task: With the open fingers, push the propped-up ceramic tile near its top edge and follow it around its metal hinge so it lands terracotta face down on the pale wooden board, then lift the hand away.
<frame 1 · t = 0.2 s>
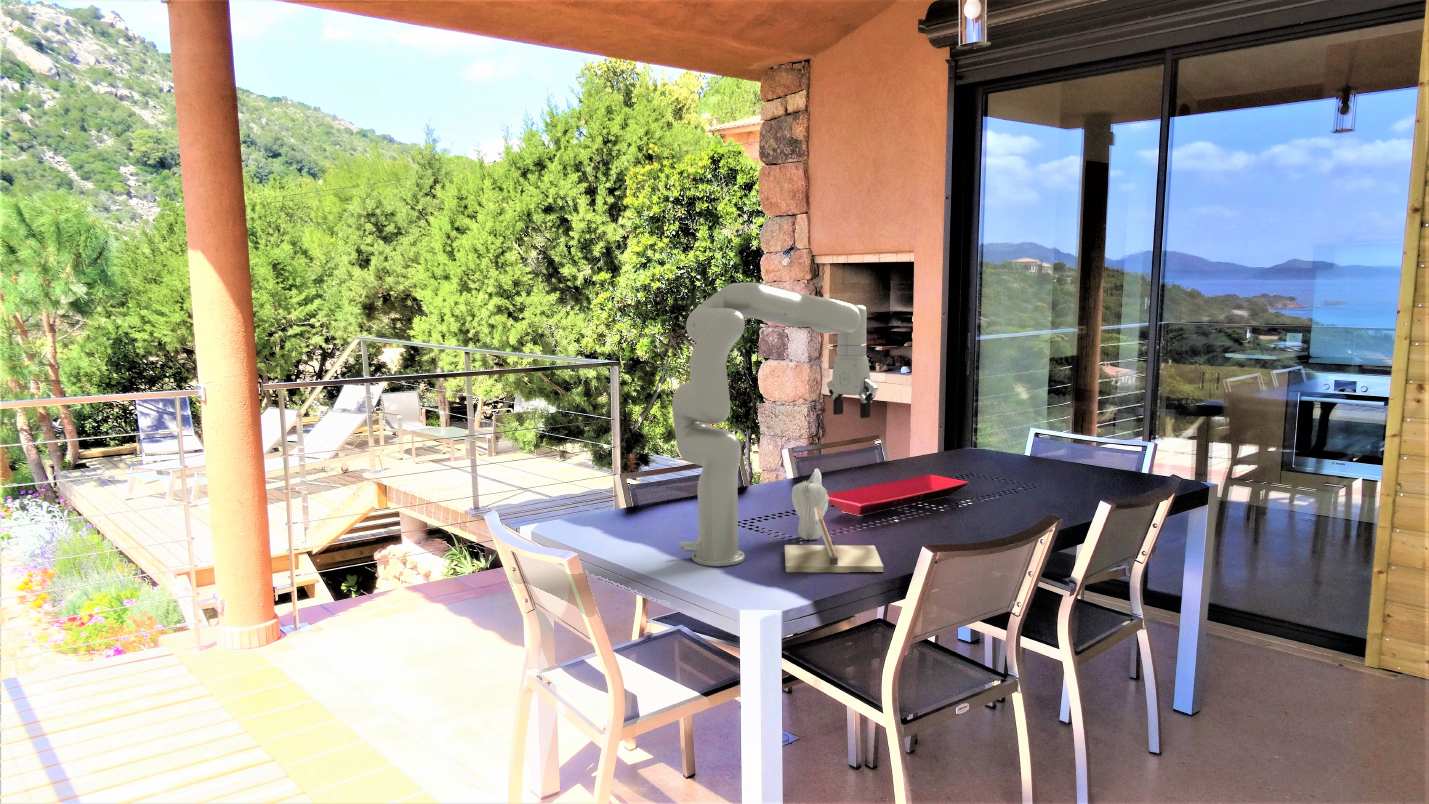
hand: (851, 415, 230), 31 cm above the table, tool pointing down, fingers open, 9 cm apart
board: (831, 561, 204), on the table
tile: (825, 533, 204), point 7 cm above the table, hinge at 70.0°
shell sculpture: (811, 539, 225), on the table
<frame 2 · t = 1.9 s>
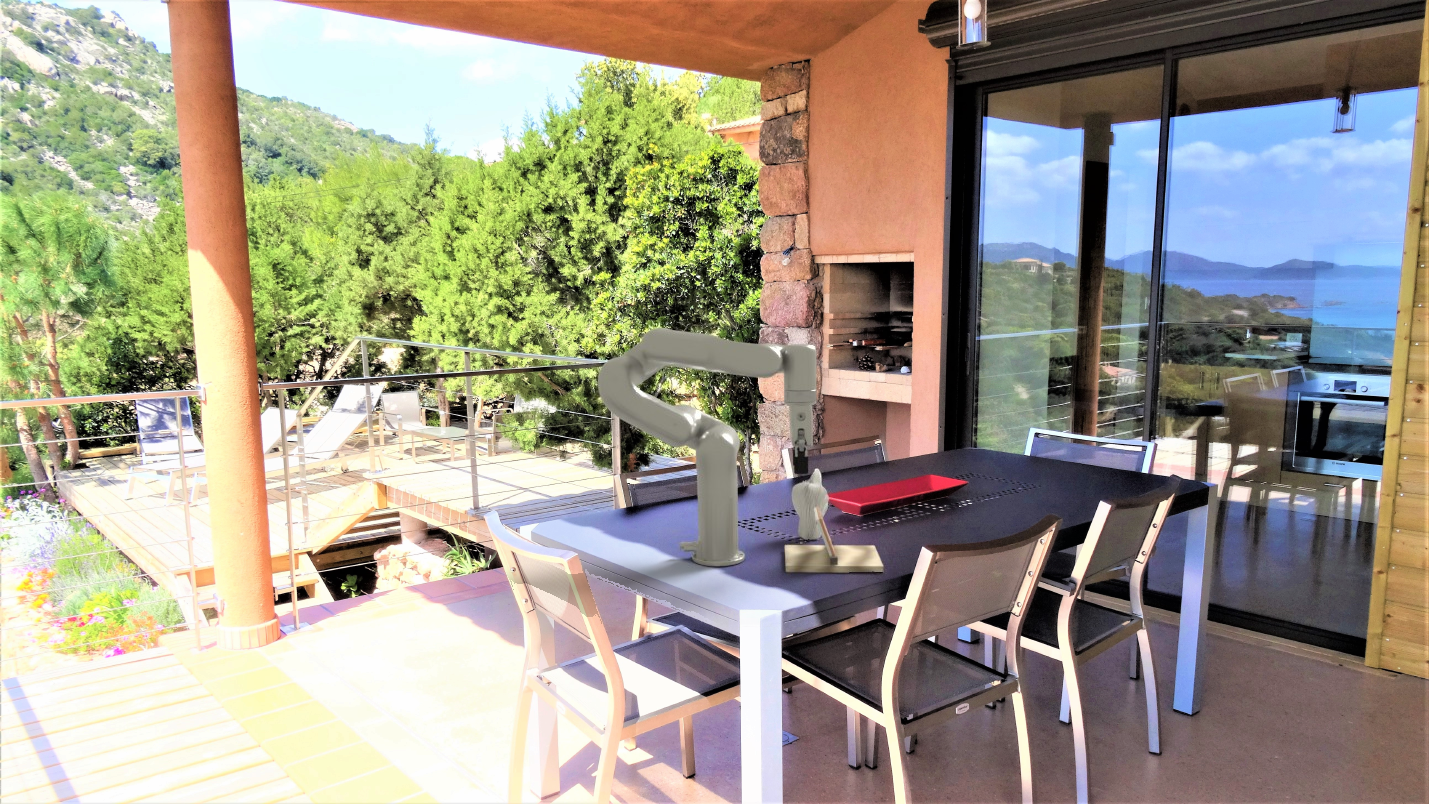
hand: (800, 469, 203), 22 cm above the table, tool pointing down, fingers open, 9 cm apart
nothing on the table moved.
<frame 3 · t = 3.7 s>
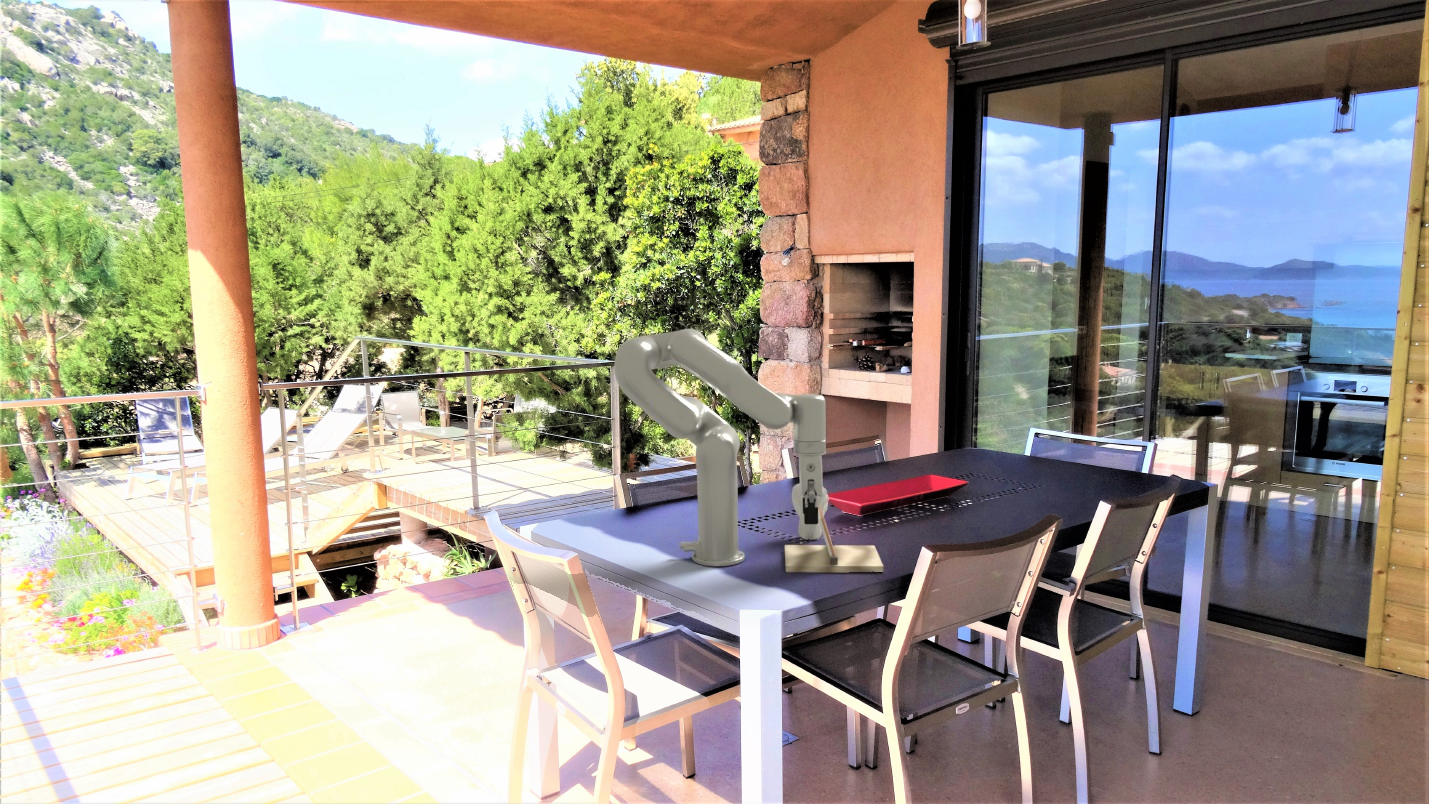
hand: (810, 518, 204), 10 cm above the table, tool pointing down
tile: (826, 533, 204), point 7 cm above the table, hinge at 72.9°, touching gripper
everything else where it was.
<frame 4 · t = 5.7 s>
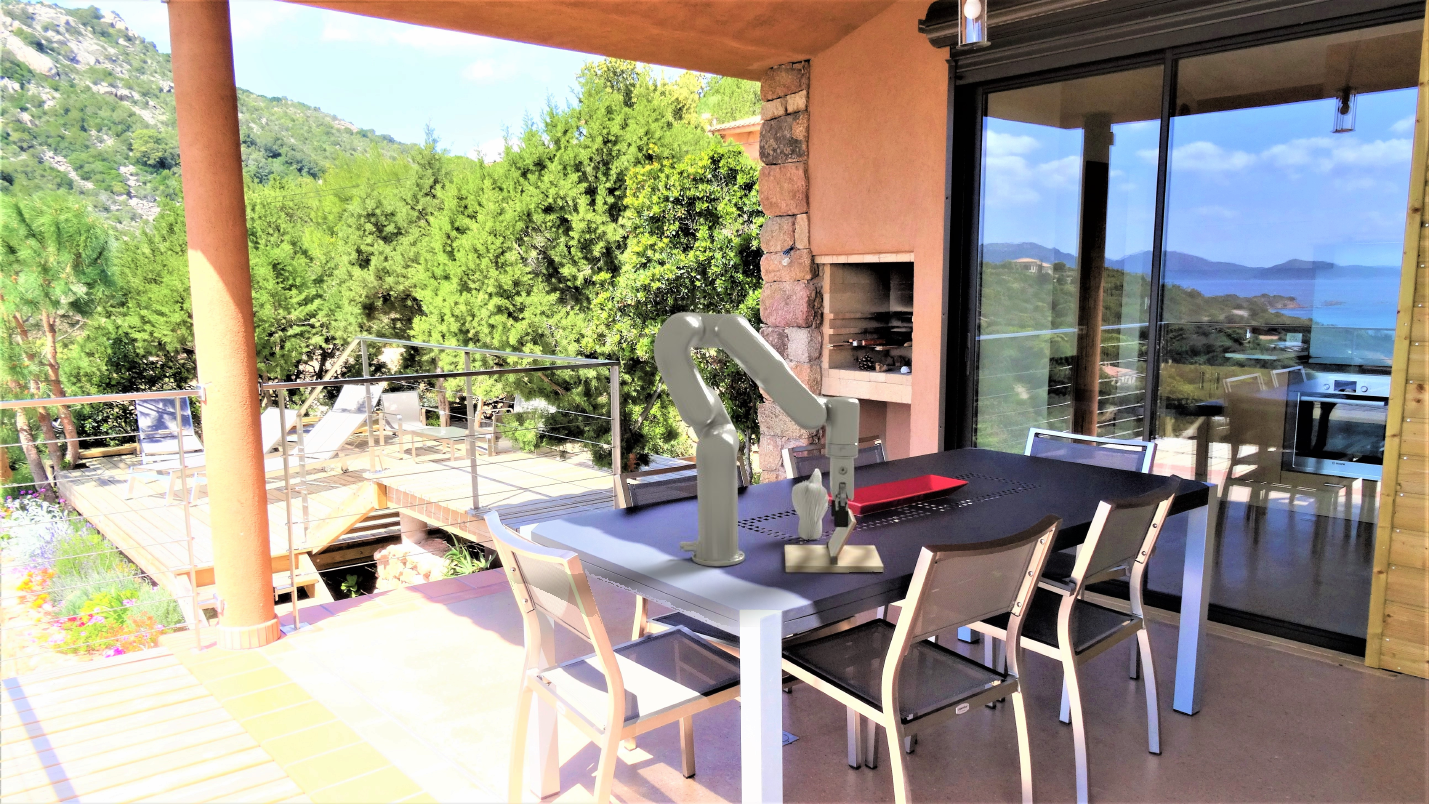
hand: (839, 521, 203), 10 cm above the table, tool pointing down
tile: (841, 534, 204), point 6 cm above the table, hinge at 117.4°, touching gripper
everything else where it was.
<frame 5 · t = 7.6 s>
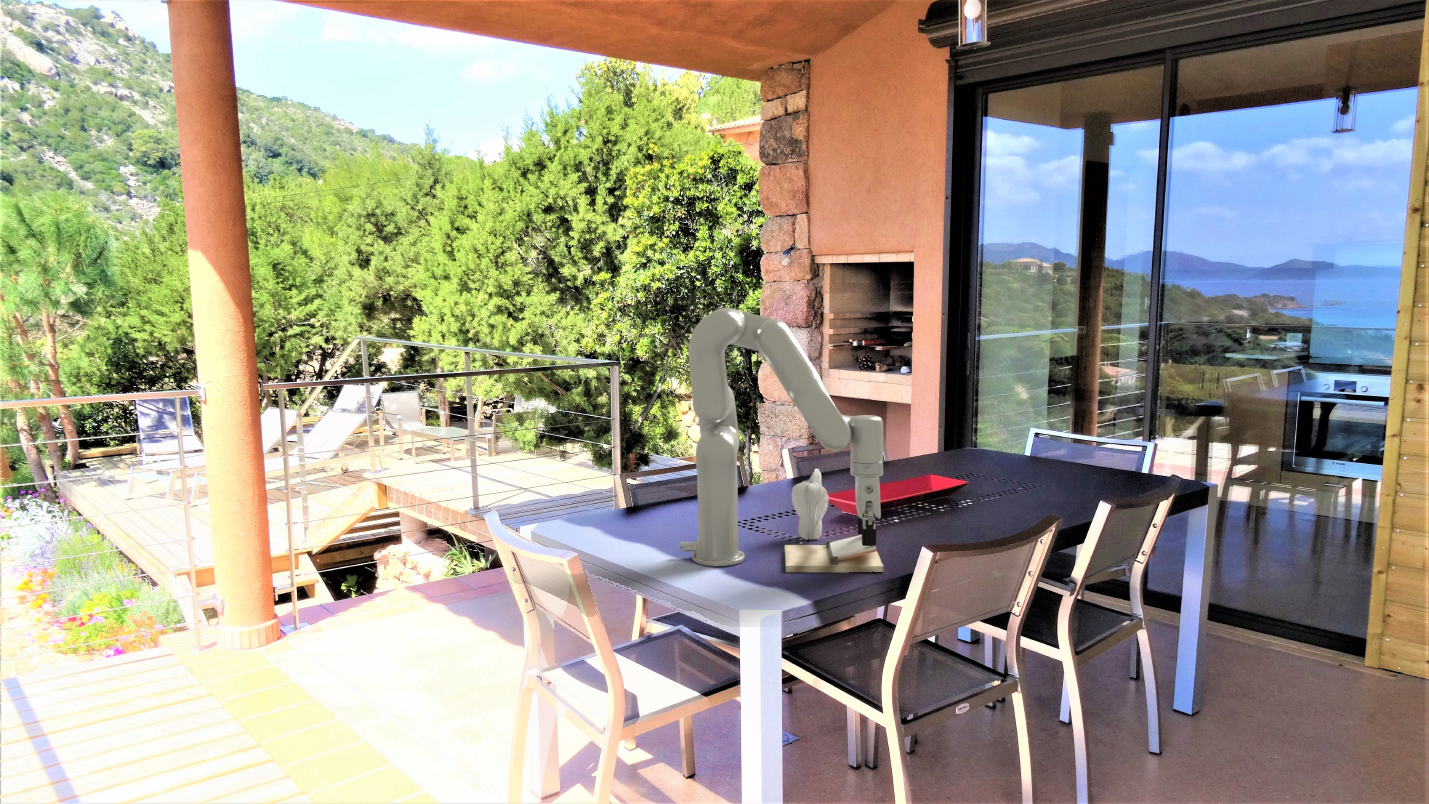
hand: (866, 539, 203), 5 cm above the table, tool pointing down
tile: (851, 547, 204), point 3 cm above the table, hinge at 165.6°, touching gripper
everything else where it was.
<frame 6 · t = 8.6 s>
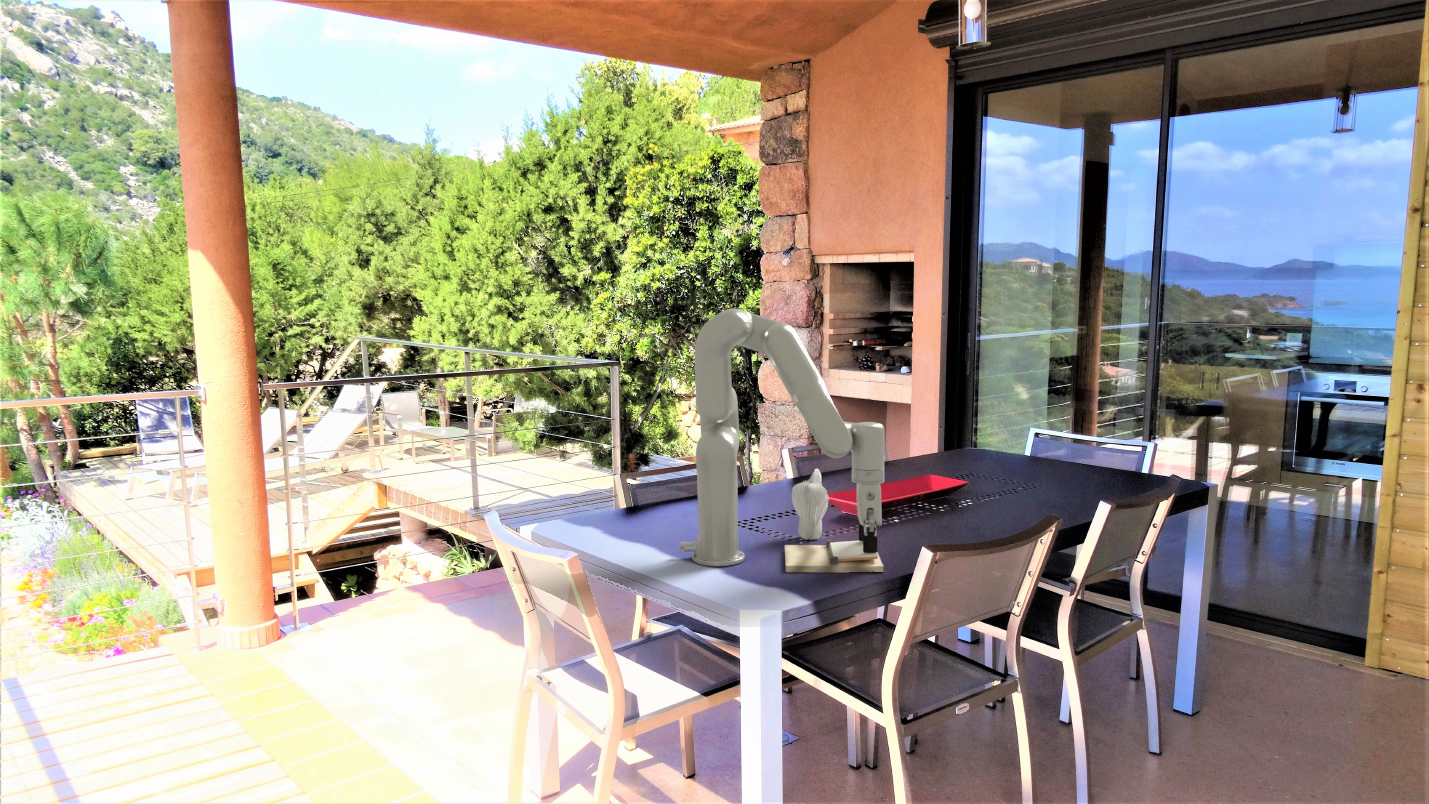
hand: (867, 546, 203), 4 cm above the table, tool pointing down, fingers open, 9 cm apart
tile: (851, 550, 204), point 3 cm above the table, hinge at 175.6°
everything else where it was.
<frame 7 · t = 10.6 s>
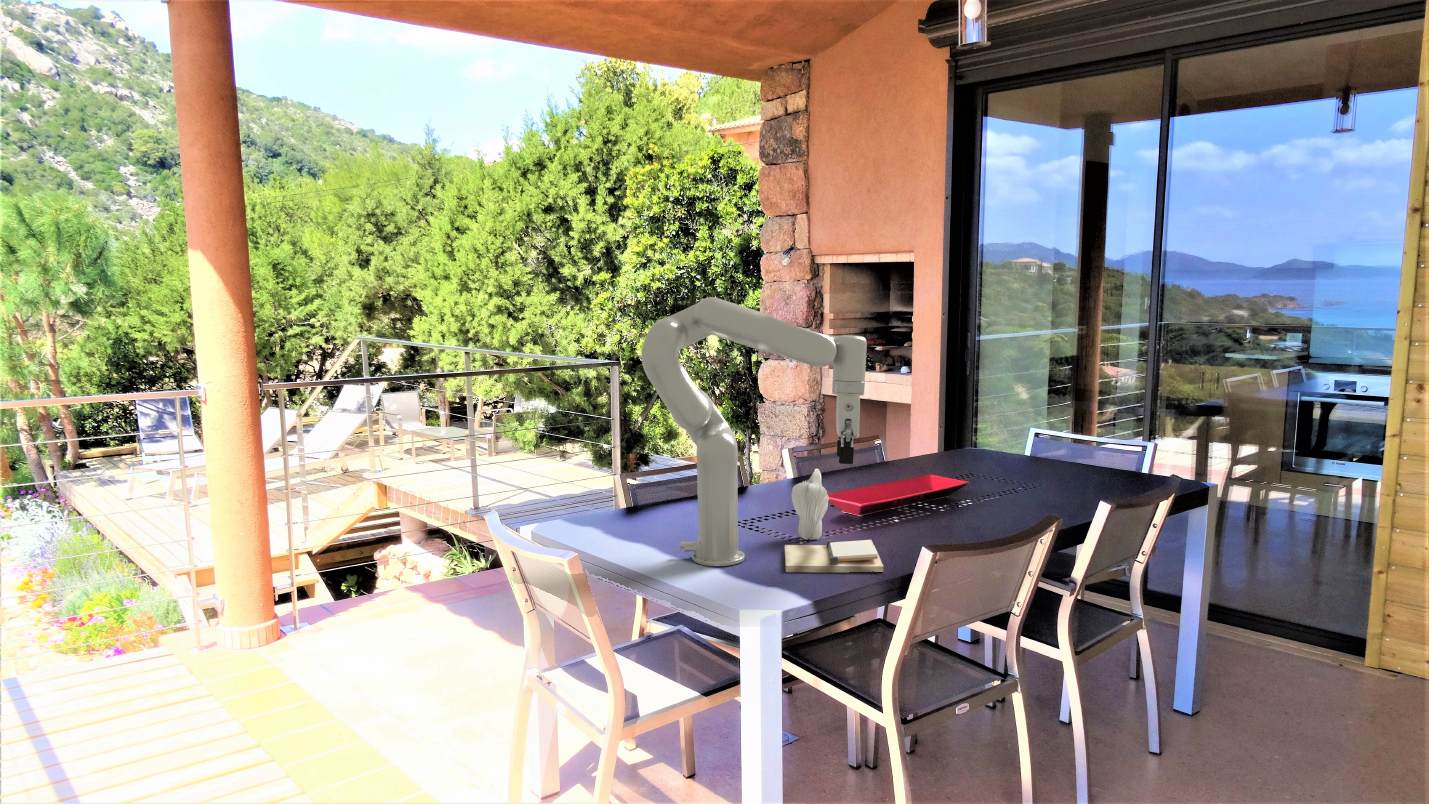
hand: (844, 459, 204), 24 cm above the table, tool pointing down, fingers open, 9 cm apart
nothing on the table moved.
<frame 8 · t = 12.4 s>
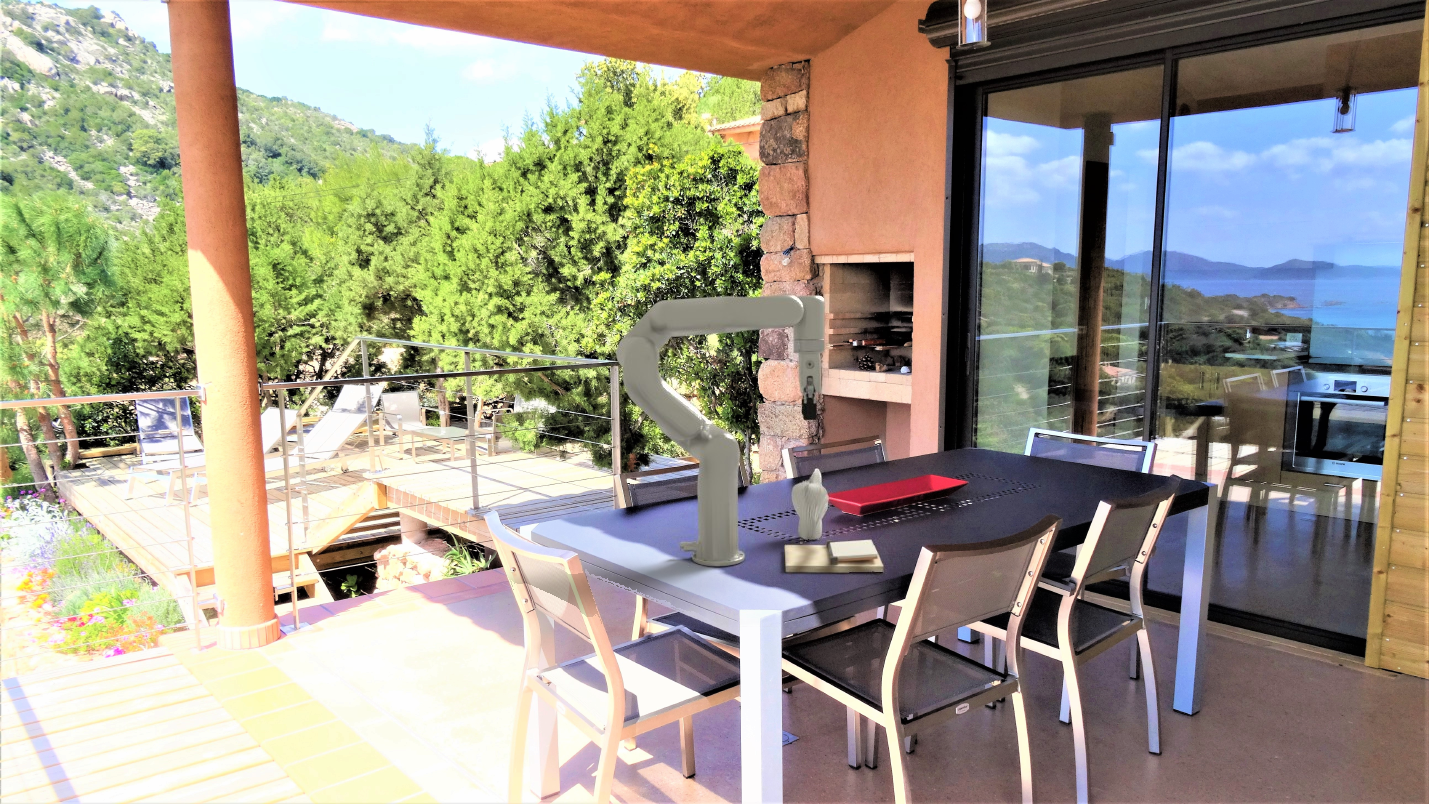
hand: (808, 417, 210), 33 cm above the table, tool pointing down, fingers open, 9 cm apart
nothing on the table moved.
at the end: tile at +176° (first picture: +70°); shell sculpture moved 0.2 cm from its start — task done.
